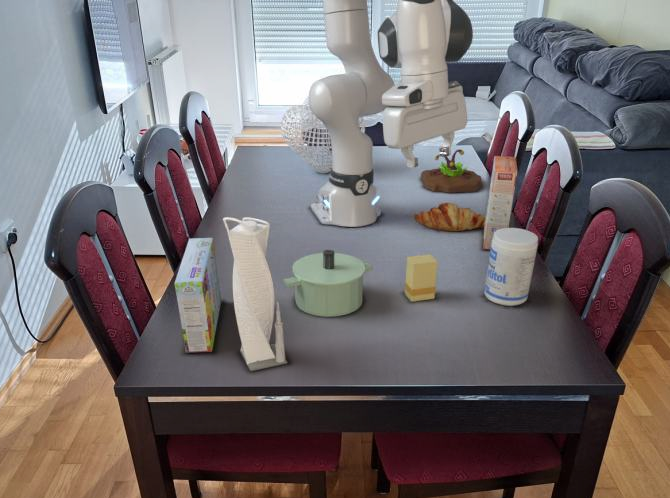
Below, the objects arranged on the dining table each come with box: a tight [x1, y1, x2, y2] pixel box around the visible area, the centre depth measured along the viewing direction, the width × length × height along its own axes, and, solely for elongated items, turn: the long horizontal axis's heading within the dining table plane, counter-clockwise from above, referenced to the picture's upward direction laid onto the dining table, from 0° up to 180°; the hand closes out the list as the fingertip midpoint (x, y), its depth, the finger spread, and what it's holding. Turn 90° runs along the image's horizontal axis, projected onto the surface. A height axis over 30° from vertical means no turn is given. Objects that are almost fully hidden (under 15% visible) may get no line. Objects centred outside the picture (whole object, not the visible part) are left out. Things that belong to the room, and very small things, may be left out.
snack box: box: [173, 237, 222, 354], centre depth 128 cm, size 21×6×15 cm, turn 5°
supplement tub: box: [483, 227, 539, 307], centre depth 141 cm, size 10×10×15 cm
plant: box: [420, 149, 483, 194], centre depth 212 cm, size 20×20×11 cm
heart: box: [280, 104, 366, 174], centre depth 218 cm, size 28×16×22 cm, turn 89°
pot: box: [283, 261, 373, 318], centre depth 140 cm, size 15×20×8 cm
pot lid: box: [291, 249, 366, 285], centre depth 138 cm, size 16×16×5 cm
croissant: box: [413, 202, 486, 232], centre depth 180 cm, size 21×10×8 cm
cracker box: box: [482, 155, 518, 251], centre depth 167 cm, size 14×6×21 cm, turn 168°
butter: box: [404, 253, 439, 303], centre depth 142 cm, size 4×6×9 cm
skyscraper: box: [222, 216, 288, 372], centre depth 115 cm, size 8×8×28 cm
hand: (429, 161), depth 130 cm, fingers open, 8 cm apart
